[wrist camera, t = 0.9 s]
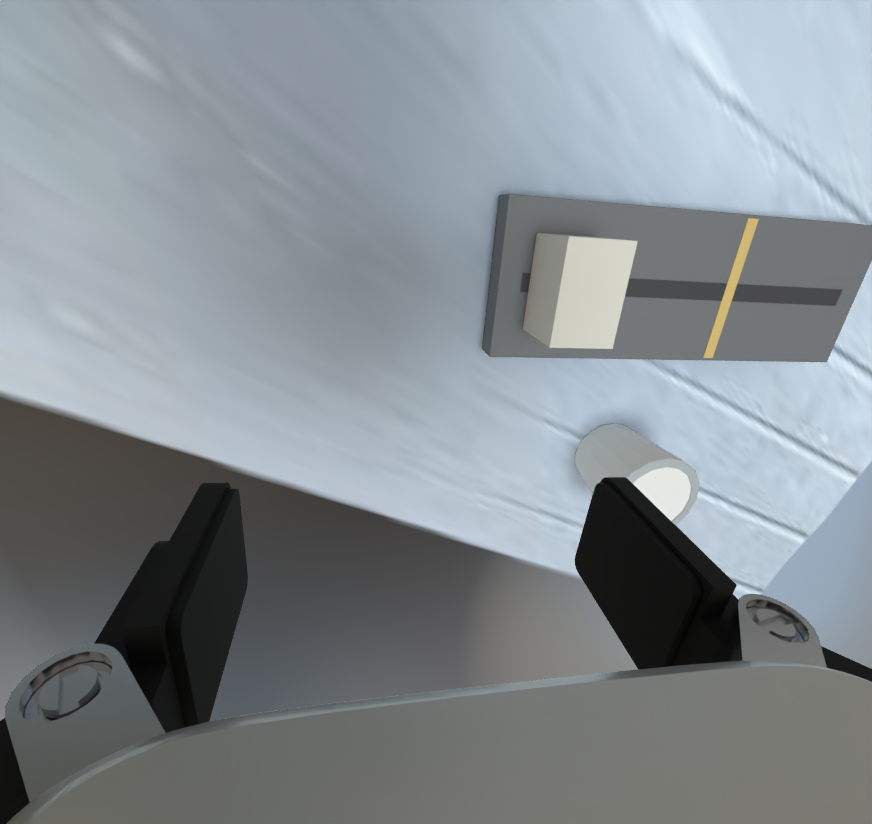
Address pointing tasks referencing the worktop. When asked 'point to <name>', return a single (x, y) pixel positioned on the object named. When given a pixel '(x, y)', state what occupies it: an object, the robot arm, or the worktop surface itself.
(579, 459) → the white cylinder
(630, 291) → the fader track
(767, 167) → the worktop surface
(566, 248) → the fader knob
